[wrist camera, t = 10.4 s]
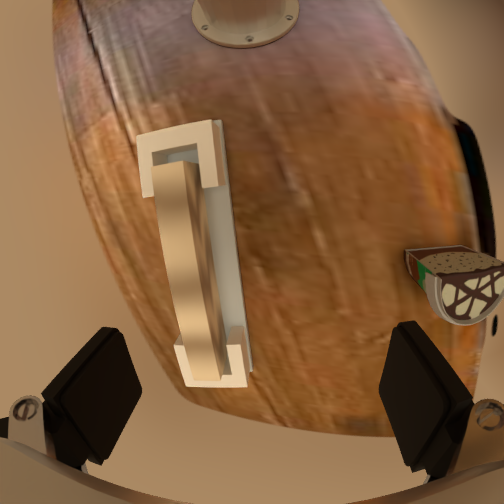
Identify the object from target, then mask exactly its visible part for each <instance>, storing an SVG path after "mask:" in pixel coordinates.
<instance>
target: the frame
mask: <svg viewBox="0 0 504 504" xmlns="http://www.w3.org/2000/svg"><path fill="white" fill-rule="evenodd" d="M136 140H137V152H138V162H139V172H140V180H141V188H142V196H143V198H146V197H152V196H154V191H153V183H152V174H151V167H153V166H157V165H162V164H167V163H172V162H178V161H188V162H193V163H198V164H199V167H200V175H201V184H202V188H204V195H205V203H206V211H207V218H208V226H209V233H210V240H211V247H212V254H213V260H214V267H215V273H216V280H217V286H218V292H219V298H220V304H221V310H222V316H223V322H224V328H225V333H226V339H227V344H226V346H227V351H228V355H227V358H226V362H225V366H224V370H223V374H222V378H221V381H195V380H194V379H193V376H192V372H191V369H190V365H189V362H188V358H187V355H186V351H185V347H184V344H183V340H182V336H181V333H180V335H179V337H178V338H177V340H176V342H175V344H174V349H175V352H176V355H177V359H178V362H179V365H180V369H181V372H182V375H183V378H184V381H185V384H186V386H190V387H247V386H248V379H249V372H251V371H253V362H252V355H251V348H250V340H249V333H248V326H247V318H246V311H245V303H244V296H243V288H242V281H241V273H240V265H239V257H238V249H237V241H236V233H235V225H234V217H233V209H232V200H231V192H230V183H229V175H228V166H227V157H226V148H225V139H224V130H223V121H222V120H215V121H212V120H211V119H210V120H204V121H199V122H194V123H188V124H184V125H179V126H174V127H170V128H165V129H161V130H157V131H153V132H149V133H145V134H141V135H137V136H136Z"/></svg>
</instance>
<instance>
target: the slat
mask: <svg viewBox="0 0 504 504" xmlns="http://www.w3.org/2000/svg"><path fill="white" fill-rule="evenodd" d="M151 174H152V183H153V191H154V198H155V205H156V212H157V219H158V225H159V231H160V237H161V243H162V249H163V254H164V260H165V265H166V270H167V275H168V280H169V285H170V289H171V294H172V299H173V303H174V307H175V312H176V316H177V320H178V324H179V328H180V332H181V336H182V340H183V344H184V347H185V351H186V355H187V358H188V362H189V365H190V369H191V372H192V376H193V379H194V380H195V381H221V378H222V374H223V370H224V366H225V362H226V358H227V355H228V351H227V346H226V344H227V339H226V333H225V328H224V322H223V316H222V310H221V304H220V298H219V292H218V286H217V280H216V273H215V267H214V260H213V254H212V247H211V240H210V233H209V226H208V218H207V211H206V203H205V195H204V188H202V184H201V175H200V167H199V164H198V163H193V162H188V161H178V162H172V163H167V164H162V165H157V166H153V167H151Z"/></svg>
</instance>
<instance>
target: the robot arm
mask: <svg viewBox="0 0 504 504" xmlns="http://www.w3.org/2000/svg"><path fill="white" fill-rule="evenodd" d="M298 14H299V2H298V0H195V1H194V4H193V6H192V12H191V16H192V21H193V23H194V25H195V27H196V29H197V30H198V32H199V33H200V34H201V35H202V36H203V37H205V38H206V39H208V40H209V41H211V42H213V43H216V44H219V45H221V46H226V47H232V48H249V47H256V46H261V45H265V44H268V43H271V42H273V41H275V40H277V39H279V38H281V37H283V36H284V35H285V34H286V33H288V32H289V31H290V30H291V29H292V27H293V26H294V25H295V23H296V21H297V19H298ZM248 41H250V42H248ZM41 394H42V396H43V398H44V399H45V401H44V402H43V403H42V402H41V400H40V399H39V398H38V397H36V396H31V395H30V396H24V397H21V398H20V399H18V400H16V401H15V402H14V404H13V405H12V406H11V408H10V412H9V417H6V418H2V419H0V504H191V503H185V502H180V501H174V500H170V499H165V498H161V497H157V496H153V495H149V494H145V493H141V492H138V491H134V490H131V489H128V488H124V487H121V486H118V485H115V484H113V483H109V482H107V481H104V480H101V479H98V478H96V477H94V476H91V475H89V474H88V471H87V468H86V464H85V461H86V460H87V459H88V460H89V461H90V462H93V463H95V464H98V465H102V464H103V461H104V460H106V459H108V458H109V456H110V454H111V452H112V450H113V448H114V446H115V444H116V442H117V441H118V438H119V436H120V435H121V433H122V431H123V429H124V427H125V425H126V423H127V421H128V419H129V418H130V415H131V414H132V412H133V410H134V408H135V406H136V404H137V402H138V400H139V399H140V397H141V394H142V387H141V384H140V382H139V379H138V376H137V374H136V371H135V369H134V365H133V363H132V360H131V357H130V354H129V352H128V348H127V345H126V342H125V339H124V336H123V334H122V333H121V332H119V330H118V329H117V328H110V327H102V328H101V329H100V330H99V331H98V332H97V333H96V334H95V335H94V336H93V337H92V338H91V339H90V340H89V341H88V342H87V343H86V344H85V346H83V347H82V349H81V350H80V351H79V352H78V353H77V354H76V355H75V356H74V357H73V358H72V359H71V360H70V361H69V363H68V364H67V365H66V366H65V367H64V368H63V369H62V370H61V371H60V373H59V374H58V375H57V376H56V377H55V378H54V379H53V380H52V381H51V383H50V384H49V385H48V386H47V387H46V388H45V389H44V391H43V392H42V393H41ZM379 394H380V397H381V400H382V402H383V405H384V407H385V410H386V413H387V415H388V418H389V421H390V423H391V426H392V429H393V431H394V434H395V437H396V440H397V443H398V445H399V448H400V451H401V454H402V457H403V460H404V463H405V465H406V466H410V468H411V470H412V473H413V472H416V471H419V470H422V469H425V470H426V472H427V477H426V479H425V481H424V483H423V485H420V486H417V487H414V488H411V489H408V490H404V491H401V492H397V493H394V494H390V495H385V496H382V497H377V498H373V499H369V500H364V501H359V502H353V503H348V504H504V404H502V403H501V402H499V401H497V400H494V399H483V400H480V401H478V402H477V403H476V404H474V403H473V401H472V398H473V397H472V395H471V394H470V392H469V391H468V390H467V388H466V387H465V385H464V384H463V382H462V381H461V380H460V378H459V377H458V375H457V374H456V373H455V371H454V370H453V369H452V367H451V366H450V364H449V363H448V362H447V360H446V359H445V358H444V356H443V355H442V354H441V353H440V351H439V350H438V349H437V347H436V346H435V345H434V343H433V342H432V341H431V340H430V338H429V337H428V336H427V335H426V333H425V332H424V331H423V330H422V328H421V327H420V326H419V325H418V324H417V322H416V321H407V322H400V323H398V325H397V327H395V328H393V331H392V335H391V340H390V344H389V349H388V353H387V357H386V362H385V366H384V369H383V373H382V377H381V381H380V384H379Z"/></svg>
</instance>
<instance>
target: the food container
mask: <svg viewBox="0 0 504 504" xmlns="http://www.w3.org/2000/svg"><path fill="white" fill-rule="evenodd" d="M404 260H405V263H406V267H407V270H408V272H409V273H410V275H411V276H412V278H413V279H414V280H415V281H416V282H417V284H418V285H419V286H420V287H421V288H422V289H423V290H424V291H425V292H426V293H427V297H428V301H429V303H430V306H431V307H432V309H433V311H434V312H435V313H436V314H437V315H438V316H439V317H441V318H442V319H444V320H446V321H448V322H450V323H453V324H456V325H472V324H475V323H478V322H480V321H481V320H483V319H484V318H486V317H487V316H488V315H490V314H491V313H492V312H493V311H494V310H495V308H496V307H497V306H498V305H499V303H500V302H501V300H502V299H503V297H504V262H502V261H500V260H498V259H495V258H493V257H491V256H488V255H486V254H483V253H481V252H478V251H476V250H473V249H471V248H468V247H465V246H463V245H454V246H443V247H431V248H419V249H407V250H404Z"/></svg>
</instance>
